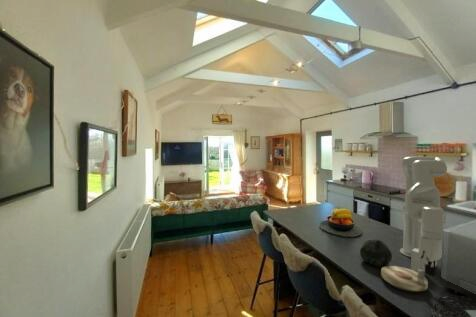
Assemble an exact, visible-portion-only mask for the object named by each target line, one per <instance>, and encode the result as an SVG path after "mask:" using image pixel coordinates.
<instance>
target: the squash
mask: <svg viewBox="0 0 476 317" xmlns="http://www.w3.org/2000/svg"><path fill="white" fill-rule="evenodd" d="M359 255H360V257H361V259H362V260H363V261H364V262H366V263H367V264H370V265H372V266H373V265H374V266H375V267H376V268H383V267H385V266H389V263H390V262H391V261H392V260H393V255H392V251H391V250H390V248H389V247H388V245H387V244H385V243H384V242H383V241H382V240H380V239H370V240H366V241H365V242H364V243H362V246H361V247H360V249H359Z"/></svg>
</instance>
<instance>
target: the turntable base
mask: <svg viewBox="0 0 476 317" xmlns="http://www.w3.org/2000/svg"><path fill="white" fill-rule="evenodd" d="M387 284H389V285H390V286H391V287H393V288H395V289H397V290H399V291H403V292H407V293H420V292H421V291H411V290H406V289H402V288H399V287H397V286H394V285H392V284H390V283H389V282H387Z"/></svg>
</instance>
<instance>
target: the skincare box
mask: <svg viewBox="0 0 476 317" xmlns="http://www.w3.org/2000/svg"><path fill="white" fill-rule="evenodd" d="M418 269H420V270H423V271H425V269H426V265H425V263H423V258H419V249H418V248H415V249H413V250H411V257H410V270H413V271H415V272H417V273H418Z"/></svg>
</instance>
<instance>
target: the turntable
mask: <svg viewBox="0 0 476 317" xmlns="http://www.w3.org/2000/svg"><path fill="white" fill-rule="evenodd" d="M425 274H426V273H425V271H423V270H420V269H418V273H417V272H415V271H413V270H411V268H406V267H402V266H398V265H387V266H385V267H381V269H380V275H381V277H382V279H384V281H386V283H388V282H389V283H390V284H392V285H394V286H397V287H399V288H402V289H406V290H411V291H420V292H423V291H427V290H428V287H429V285H428V284H429V282H428V279H427V278H426V277H425ZM389 283H388V284H389ZM390 284H389V285H390Z"/></svg>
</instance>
